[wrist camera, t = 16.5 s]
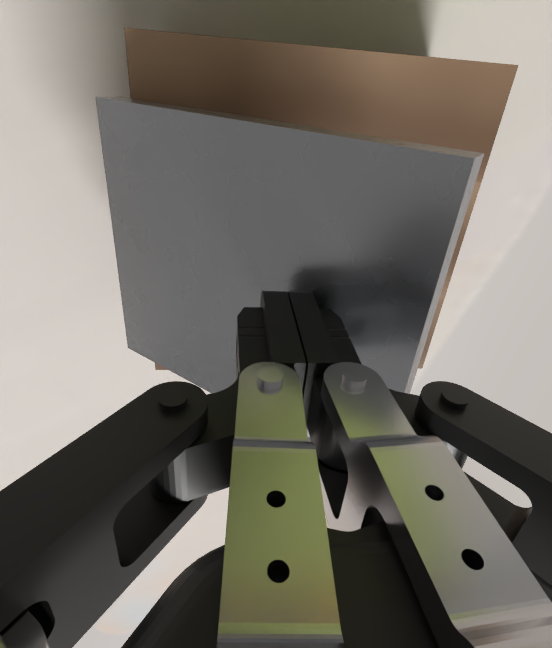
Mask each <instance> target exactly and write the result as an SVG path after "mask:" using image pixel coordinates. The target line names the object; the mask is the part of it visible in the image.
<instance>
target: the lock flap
mask: <svg viewBox="0 0 552 648" xmlns="http://www.w3.org/2000/svg"><path fill="white" fill-rule="evenodd" d="M96 104H97V112H98V120H99V127H100V135H101V143H102V150H103V158H104V166H105V174H106V181H107V189H108V197H109V205H110V212H111V220H112V228H113V235H114V243H115V251H116V259H117V266H118V274H119V282H120V290H121V297H122V305H123V313H124V321H125V328H126V336H127V344H128V348H129V349H131V350H133V351H135V352H137V353H139V354H140V355H142V356H144V357H146V358H148V359H150V360H151V361H153V362H155V363H157V364H159V365H161V366H163V367H164V368H166V369H168V370H170V371H172V372H174V373H175V374H177V375H179V376H181V377H183V378H185V379H186V380H188V381H190V382H192V383H194V384H196V385H197V386H199V387H201V388H203V389H205V390H207V391H209V392H210V393H216V392H219V391H222V390H224V389H226V388H228V387H230V386H231V385H232V384H233V383H234V382H235V381H236V336H237V316H238V314H239V313H240V312H241V310H242V309H243V308H244V307H260V299H261V292H262V291H286V292H288V291H293V292H313V294H314V297H315V300H316V302H317V305H318V307H319V308H328V309H331V310H332V311H333V312H334V313H336V314H337V315H338V316H339V317H340V318H341V320H342V322H343V324H344V326H345V330H346V331H347V333H348V335H349V339H351V342H352V344H353V346H354V348H355V350H356V353H357V355H358V357H359V359H360V361H361V364H362V365H365V366H367V367H369V368H371V369H373V370H374V371H375V372H377V373H378V374H379V375H380V377H381V378H382V380H383V381H384V383H385V384H386V386H387V388H388V389H391V390H394V391H398V392H403V393H408V394H410V391H411V388H412V385H413V381H414V378H415V375H416V372H417V369H418V365H419V362H420V359H421V356H422V352H423V349H424V346H425V343H426V340H427V336H428V333H429V330H430V327H431V323H432V320H433V317H434V314H435V311H436V307H437V304H438V301H439V298H440V294H441V291H442V288H443V285H444V282H445V278H446V275H447V272H448V269H449V266H450V262H451V259H452V256H453V253H454V249H455V246H456V243H457V240H458V237H459V233H460V230H461V227H462V224H463V220H464V217H465V214H466V211H467V208H468V204H469V201H470V198H471V195H472V191H473V188H474V185H475V182H476V179H477V175H478V172H479V169H480V166H481V163H482V159H483V156H484V153H479V152H473V151H466V150H460V149H453V148H447V147H441V146H434V145H428V144H421V143H415V142H408V141H402V140H396V139H389V138H383V137H376V136H370V135H363V134H357V133H350V132H344V131H338V130H331V129H325V128H318V127H312V126H305V125H299V124H292V123H286V122H280V121H273V120H267V119H260V118H254V117H247V116H241V115H234V114H228V113H222V112H215V111H209V110H202V109H196V108H189V107H183V106H176V105H170V104H164V103H157V102H151V101H144V100H138V99H131V98H125V97H96ZM307 438H308V442H311V440H310V437H307Z"/></svg>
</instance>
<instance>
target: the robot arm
mask: <svg viewBox="0 0 552 648" xmlns="http://www.w3.org/2000/svg"><path fill="white" fill-rule="evenodd" d="M307 437H310V440H311V442H308V438H307ZM467 456H469V457H471V458H472V459H474V460H475V461H477V462H479V463H480V464H482V465H483V466H485V467H486V468H488V469H490V470H491V471H493V472H494V473H496V474H498V475H500V476H501V477H503V478H504V479H506V480H507V481H509V482H510V483H512V484H514V485H515V486H517V487H518V488H520V489H521V490H522V491H524V492H525V493H526V494H527V496H528V497H529V499H530V500H531V503H532V507H530V508H522V507H518V506H516V505H514V504H512V503H511V502H509V501H508V500H506V499H504V498H503V497H502V496H500V495H499V494H497V493H496V492H494V491H492V490H491V489H489V488H488V487H486V486H485V485H483V484H482V483H480V482H479V481H477V480H476V479H474V478H473V477H471V476H469V475H468V474H466V473H465V472H463V470H462V467H463V465H464V463H465V461H466V459H467ZM228 487H230V488H229V500H228V513H227V525H226V538H225V545H223V546H221V547H219V548H217V549H214V550H212V551H210V552H209V553H207V554H205V555H204V556H202V557H201V558H199V559H197V560H196V561H195V562H194V563H192V564H191V565H190V566H189V567H187V568H186V569H185V570H184V571H183V572H182V573H181V574H180V575H179V576H178V577H177V578H176V579H175V580H174V581H173V582H172V584H171V585H170V586H169V587H168V588H167V590H166V591H165V592H164V594H163V595H162V596H161V597H160V599H159V600H158V601H157V603H156V604H155V605H154V606H153V608H152V609H151V610H150V612H149V613H148V614H147V615H146V617H145V618H144V619H143V620H142V622H141V623H140V624H139V626H138V627H137V628H136V629H135V631H134V632H133V633H132V635H131V636H130V637H129V638H128V640H127V641H126V642H125V644H124V645H123V646H122V647H121V648H552V434H551V433H550V432H548V431H546V430H544V429H542V428H540V427H538V426H536V425H535V424H533V423H531V422H529V421H527V420H525V419H523V418H521V417H520V416H518V415H516V414H514V413H512V412H510V411H508V410H506V409H504V408H503V407H501V406H499V405H497V404H495V403H493V402H491V401H490V400H488V399H486V398H484V397H482V396H480V395H478V394H476V393H474V392H473V391H471V390H469V389H467V388H465V387H462V386H460V385H457V384H454V383H450V382H443V381H437V382H431V383H429V384H427V385H425V386H424V387H423V389H422V391H421V394H420V396H417V395H412V394H408V393H403V392H398V391H394V390H391V389H388V388H387V386H386V384H385V383H384V381H383V380H382V378H381V377H380V375H379V374H378V373H377V372H375V371H374V370H373V369H371V368H369V367H367V366H365V365H362V364H361V361H360V359H359V357H358V355H357V353H356V350H355V348H354V346H353V344H352V342H351V339H349V335H348V333H347V331H346V330H345V326H344V324H343V322H342V320H341V318H340V317H339V316H338V315H337V314H336V313H334V312H333V311H332V310H331V309H328V308H319V307H318V305H317V302H316V300H315V297H314V294H313V292H293V291H288V292H286V291H262V292H261V299H260V307H244V308H243V309H242V310H241V312H240V313H239V314H238V316H237V336H236V381H235V382H234V383H233V384H232V385H231V386H230V387H228V388H226V389H224V390H222V391H219V392H216V393H212V394H208V395H206V394H205V393H204V391H203V390H202V389H200V388H199V387H197V386H196V385H193V384H191V383H187V382H177V381H175V382H166V383H162V384H159V385H156V386H154V387H152V388H151V389H149V390H147V391H146V392H144V393H143V394H142V395H140V396H139V397H137V398H136V399H134V400H133V401H131V402H130V403H128V404H127V405H125V406H124V407H123V408H121V409H120V410H118V411H117V412H115V413H114V414H112V415H111V416H109V417H108V418H107V419H105V420H104V421H102V422H101V423H99V424H98V425H96V426H95V427H93V428H92V429H90V430H89V431H88V432H86V433H85V434H83V435H82V436H80V437H79V438H77V439H76V440H74V441H73V442H71V443H70V444H69V445H67V446H66V447H64V448H63V449H61V450H60V451H58V452H57V453H55V454H54V455H52V456H51V457H50V458H48V459H47V460H45V461H44V462H42V463H41V464H39V465H38V466H36V467H35V468H33V469H32V470H31V471H29V472H28V473H26V474H25V475H23V476H22V477H20V478H19V479H17V480H16V481H14V482H13V483H12V484H10V485H9V486H7V487H6V488H4V489H3V490H1V491H0V648H72V647H73V646H74V645H75V644H76V643H77V642H78V641H79V640H80V639H81V637H82V636H83V635H84V634H85V633H86V632H87V631H88V630H89V629H90V628H91V627H92V625H93V624H94V623H95V622H96V621H97V620H98V619H99V618H100V617H101V616H102V615H103V613H104V612H105V611H106V610H107V609H108V608H109V607H110V606H111V605H112V604H113V603H114V601H115V600H116V599H117V598H118V597H119V596H120V595H121V594H122V593H123V592H124V591H125V589H126V588H127V587H128V586H129V585H130V584H131V583H132V582H133V581H134V580H135V579H136V577H137V576H138V575H139V574H140V573H141V572H142V571H143V570H144V569H145V568H146V567H147V565H148V564H149V563H150V562H151V561H152V560H153V559H154V558H155V557H156V556H157V555H158V553H159V552H160V551H161V550H162V549H163V548H164V547H165V546H166V545H167V544H168V543H169V541H170V540H171V539H172V538H173V537H174V536H175V535H176V534H177V533H178V532H179V530H180V529H181V528H182V527H183V526H184V525H185V524H186V523H187V522H188V521H189V520H190V518H191V517H192V516H193V515H194V514H195V513H196V512H197V511H198V510H199V509H200V508H201V506H202V505H203V504H204V502H205V501H206V499H207V496H208V494H210V493H213V492H216V491H219V490H222V489H225V488H228ZM325 516H326V519H327V522H328V525H329V528H327V526H326V519H325Z"/></svg>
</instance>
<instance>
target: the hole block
mask: <svg viewBox="0 0 552 648" xmlns="http://www.w3.org/2000/svg"><path fill="white" fill-rule="evenodd" d="M124 29H125V40H126V51H127V62H128V73H129V84H130V95H131V99H138V100H144V101H151V102H157V103H164V104H170V105H176V106H183V107H189V108H196V109H202V110H209V111H215V112H222V113H228V114H234V115H241V116H247V117H254V118H260V119H267V120H273V121H280V122H286V123H292V124H299V125H305V126H312V127H318V128H325V129H331V130H338V131H344V132H350V133H357V134H363V135H370V136H376V137H383V138H389V139H396V140H402V141H408V142H415V143H421V144H428V145H434V146H441V147H447V148H453V149H460V150H466V151H473V152H479V153H484V156H483V159H482V163H481V166H480V169H479V172H478V175H477V179H476V182H475V185H474V188H473V191H472V195H471V198H470V201H469V204H468V208H467V211H466V214H465V217H464V220H463V224H462V227H461V230H460V233H459V237H458V240H457V243H456V246H455V249H454V253H453V256H452V259H451V262H450V266H449V269H448V272H447V275H446V278H445V282H444V285H443V288H442V291H441V294H440V298H439V301H438V304H437V307H436V311H435V314H434V317H433V320H432V323H431V327H430V330H429V333H428V336H427V340H426V343H425V346H424V349H423V352H422V356H421V359H420V362H419V365H418V368H422V367H423V364H424V361H425V358H426V354H427V351H428V348H429V345H430V342H431V339H432V336H433V332H434V329H435V326H436V323H437V320H438V317H439V314H440V310H441V307H442V304H443V301H444V298H445V295H446V292H447V288H448V285H449V282H450V279H451V276H452V273H453V269H454V266H455V263H456V260H457V257H458V254H459V251H460V247H461V244H462V241H463V238H464V235H465V232H466V229H467V225H468V222H469V219H470V216H471V213H472V210H473V207H474V203H475V200H476V197H477V194H478V191H479V188H480V184H481V181H482V178H483V175H484V172H485V169H486V166H487V162H488V159H489V156H490V153H491V150H492V147H493V144H494V140H495V137H496V134H497V131H498V128H499V125H500V122H501V118H502V115H503V112H504V109H505V106H506V103H507V99H508V96H509V93H510V90H511V87H512V84H513V81H514V77H515V74H516V71H517V68H518V65H509V64H499V63H488V62H478V61H468V60H457V59H447V58H436V57H426V56H415V55H405V54H394V53H384V52H373V51H363V50H352V49H342V48H331V47H321V46H310V45H300V44H289V43H279V42H268V41H258V40H247V39H237V38H226V37H216V36H205V35H195V34H184V33H174V32H163V31H153V30H142V29H132V28H124ZM155 368H156V370H168V369H166V368H164V367H163V366H161V365H159V364H157V363H155Z"/></svg>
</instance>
